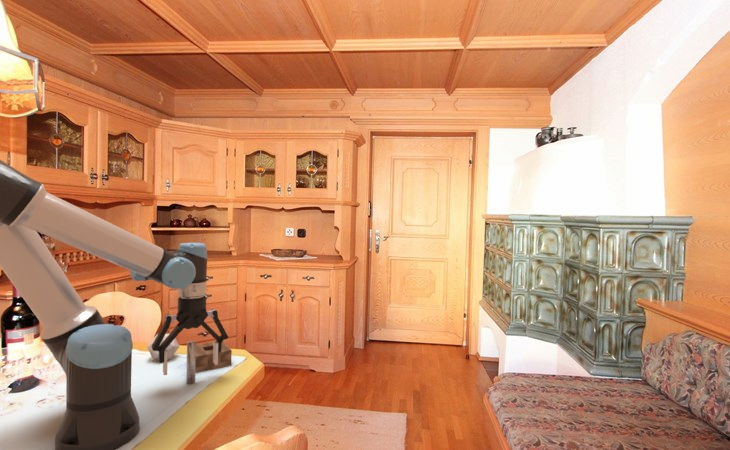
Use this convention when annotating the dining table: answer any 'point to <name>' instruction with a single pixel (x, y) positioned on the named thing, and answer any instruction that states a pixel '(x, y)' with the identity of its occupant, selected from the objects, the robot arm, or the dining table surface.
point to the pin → (191, 362)
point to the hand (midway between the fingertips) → (191, 368)
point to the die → (171, 348)
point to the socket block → (211, 357)
